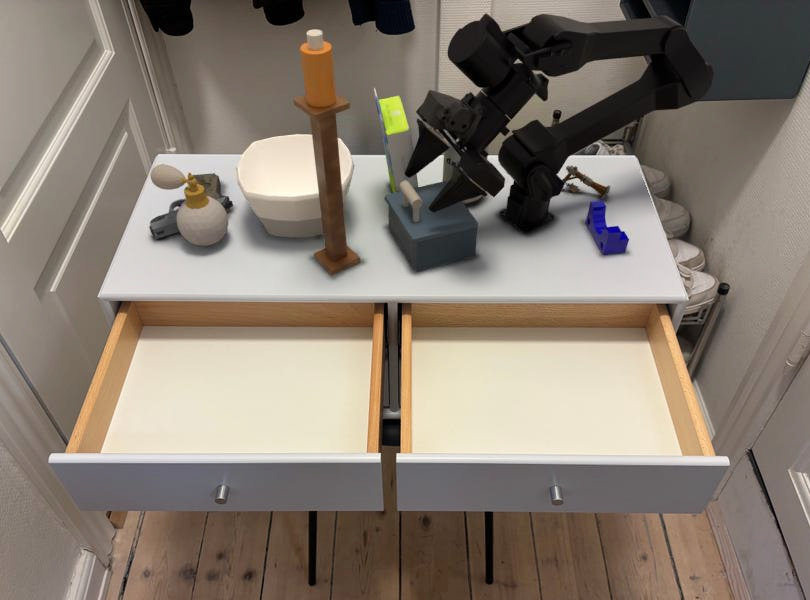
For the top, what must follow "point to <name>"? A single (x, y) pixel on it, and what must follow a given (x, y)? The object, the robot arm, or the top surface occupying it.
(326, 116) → the stand
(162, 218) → the handgun
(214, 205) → the perfume bottle
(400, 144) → the box
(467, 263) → the top surface
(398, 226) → the compartment
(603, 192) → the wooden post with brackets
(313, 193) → the bowl
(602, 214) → the cable holder
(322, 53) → the detergent bottle
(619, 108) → the robot arm
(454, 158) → the beverage can
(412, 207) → the lid
